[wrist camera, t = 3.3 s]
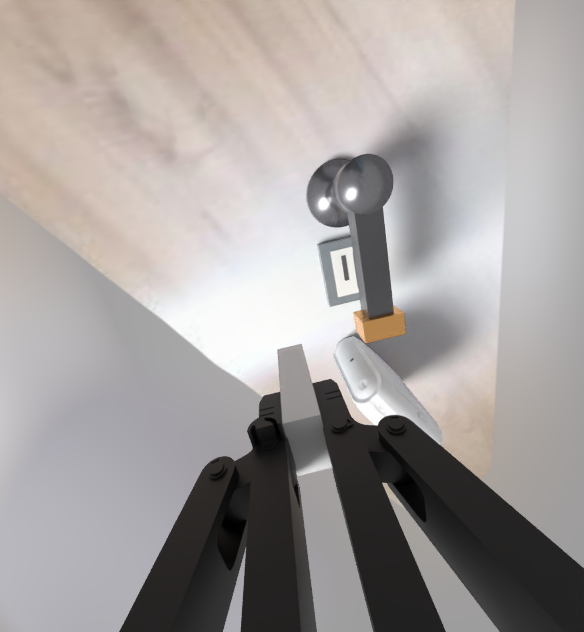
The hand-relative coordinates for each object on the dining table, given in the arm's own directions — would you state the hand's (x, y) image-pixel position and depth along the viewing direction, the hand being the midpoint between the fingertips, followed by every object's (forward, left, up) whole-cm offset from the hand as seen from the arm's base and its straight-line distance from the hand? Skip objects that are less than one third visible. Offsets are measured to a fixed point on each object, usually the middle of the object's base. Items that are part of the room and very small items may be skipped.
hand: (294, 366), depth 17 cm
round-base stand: (-9, +8, -16) cm, 20 cm away
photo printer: (+11, +8, -17) cm, 22 cm away
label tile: (-1, +8, -16) cm, 18 cm away
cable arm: (-4, +8, -9) cm, 13 cm away
